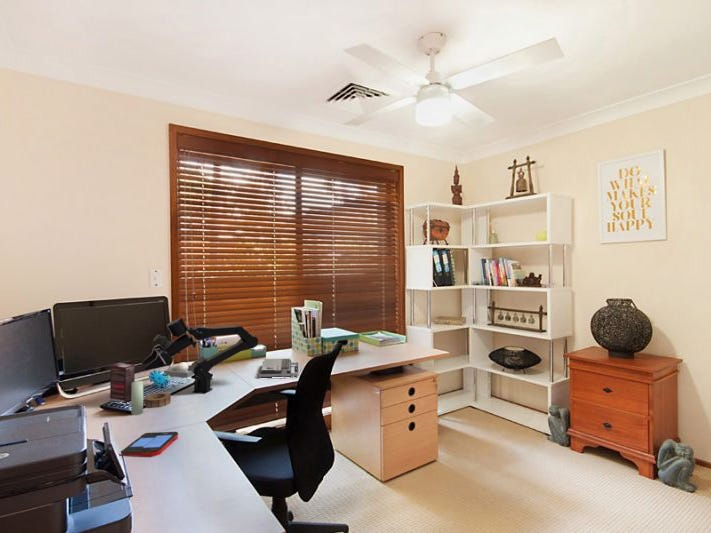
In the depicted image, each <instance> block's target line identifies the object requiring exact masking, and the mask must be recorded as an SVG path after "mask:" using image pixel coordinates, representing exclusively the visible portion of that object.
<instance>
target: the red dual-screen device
mask: <svg viewBox="0 0 711 533" xmlns="http://www.w3.org/2000/svg"><path fill="white" fill-rule="evenodd" d="M178 438H179V433H178V431H161V432H160V431H159V432H157V431H156V432H145V433H143V434H142V435H140V436H138V438H137V439H135V440H134V441H132V442H131V443H130V444H129V445H128V446H126V447H124V449H122V450H121V451H120V452H121V453H122V454H123V455H122V456H132V457H133V456H134V457H136V456H137V457H139V456H140V457H156V456H160V455H161V454H162V453H163V452H165V450H167V449H168V448H169V447H170V446H171V445H172V444H173V443H174V442H175V441H177V440H178Z"/></svg>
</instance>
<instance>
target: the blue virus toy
mask: <svg viewBox="0 0 711 533" xmlns="http://www.w3.org/2000/svg"><path fill="white" fill-rule="evenodd" d="M170 377H171V376H169V375H168V376H165V373H164V372H162V370H160V369H159V370H156V369H154V370H153V371H150V372H149V375H148V378H150V379H149V382H152V385H154V386H153V387H155V386H156V385H157V386H156V387H157V388H158V389H160V388H162V387H164V386H165V385H168V384H169V382H170V380H169V378H170ZM152 385H151V386H152ZM168 386H169V385H168ZM159 387H160V388H159ZM165 387H166V386H165Z"/></svg>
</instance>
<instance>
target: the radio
mask: <svg viewBox="0 0 711 533" xmlns="http://www.w3.org/2000/svg"><path fill="white" fill-rule="evenodd" d="M292 366H296V372H294V371H293V372H292ZM258 373H259V377H260V378H267V379H273V378H272V377H290V378H291V377H293V376H295V377H296V376H299V375H300V374H299V362H298V361H295V362H293V361H292V360H291V358H264V360H263V361H262V366H261V369H260V371H259V372H258ZM260 378H259V379H260Z"/></svg>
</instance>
